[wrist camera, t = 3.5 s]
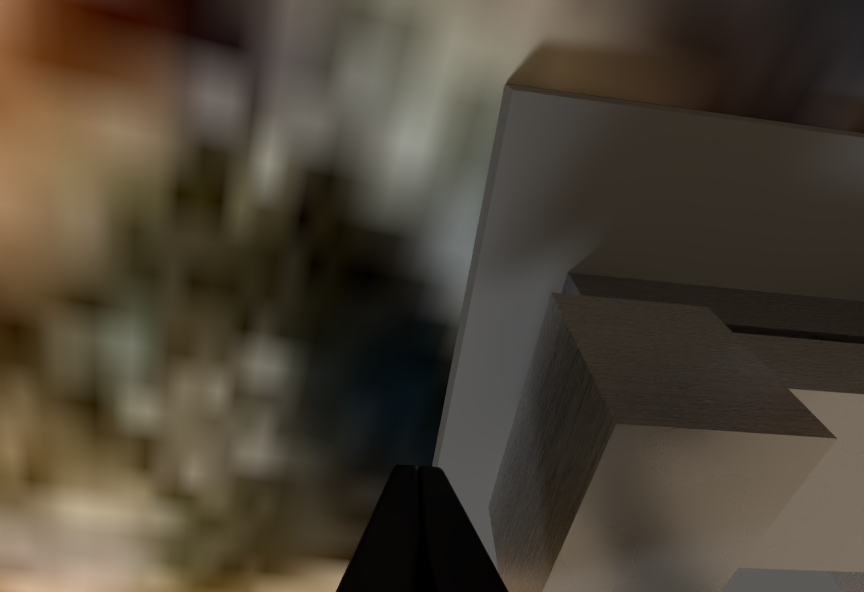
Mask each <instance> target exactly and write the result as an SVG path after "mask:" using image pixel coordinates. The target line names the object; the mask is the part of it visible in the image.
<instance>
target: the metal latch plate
mask: <svg viewBox="0 0 864 592" xmlns="http://www.w3.org/2000/svg"><path fill="white" fill-rule="evenodd" d="M488 508H489V514H490V521H491V527H492V533H493V539H494V546H495V552H496V558H497V565H498V571H499V575H500V577H501V579H502V580H503V582H504V584H505V586H506V588H507V590H508V592H720V591H721V590H722V588H723V587H724V586H725V584H726V583H727V582H728V580H729V579H730V578H731V577H732V575H733V574H734V573H735V571H736V570H737V569H738V568H756V569H783V570H811V571H828V573H829V574H830V575H831V577H832V578H833V580H834V581H835V582H836V584H837V585H838V586H839V588H840V589H841V590H842V592H864V344H857V343H846V342H834V341H823V340H812V339H801V338H790V337H778V336H767V335H756V334H745V333H733V332H732V331H731V330H730V329H729V328H728V327H727V326H726V325H725V324H724V323H723V322H722V321H721V320H720V319H719V318H718V317H717V316H716V315H715V314H714V313H713V312H712V311H711V310H710V309H709V308H708V307H702V306H691V305H680V304H670V303H659V302H648V301H638V300H627V299H617V298H606V297H595V296H585V295H574V294H564V293H553V292H551V295H550V298H549V301H548V305H547V308H546V312H545V315H544V318H543V322H542V325H541V329H540V332H539V335H538V339H537V342H536V346H535V349H534V353H533V356H532V359H531V363H530V366H529V370H528V373H527V376H526V380H525V383H524V387H523V390H522V394H521V397H520V400H519V404H518V407H517V411H516V414H515V417H514V421H513V424H512V428H511V431H510V434H509V438H508V441H507V445H506V448H505V452H504V455H503V458H502V462H501V465H500V469H499V472H498V475H497V479H496V482H495V486H494V489H493V492H492V496H491V499H490V503H489V506H488Z"/></svg>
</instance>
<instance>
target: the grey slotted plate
mask: <svg viewBox="0 0 864 592" xmlns="http://www.w3.org/2000/svg"><path fill="white" fill-rule="evenodd" d="M562 293H564V294H574V295H585V296H595V297H606V298H617V299H627V300H638V301H648V302H659V303H670V304H680V305H691V306H702V307H708V308H709V309H710V310H711V311H712V312H713V313H714V314H715V315H716V316H717V317H718V318H719V319H720V320H721V321H722V322H723V323H724V324H725V325H726V326H727V327H728V328H729V329H730V330H731V331H732V332H733V333H745V334H756V335H767V336H778V337H790V338H801V339H812V340H823V341H834V342H846V343H857V344H864V302H863V301H853V300H843V299H833V298H823V297H813V296H803V295H793V294H782V293H772V292H762V291H752V290H742V289H732V288H722V287H712V286H702V285H691V284H681V283H671V282H661V281H651V280H641V279H631V278H621V277H610V276H600V275H590V274H580V273H570V272H568V273H567V277H566V280H565V283H564V286H563V290H562Z"/></svg>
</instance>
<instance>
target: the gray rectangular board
mask: <svg viewBox="0 0 864 592" xmlns="http://www.w3.org/2000/svg"><path fill="white" fill-rule="evenodd" d="M568 272H570V273H580V274H590V275H600V276H610V277H621V278H631V279H641V280H651V281H661V282H671V283H681V284H691V285H702V286H712V287H722V288H732V289H742V290H752V291H762V292H772V293H782V294H793V295H803V296H813V297H823V298H833V299H843V300H853V301H863V302H864V133H860V132H852V131H845V130H838V129H831V128H823V127H816V126H809V125H802V124H794V123H787V122H780V121H772V120H765V119H758V118H751V117H743V116H736V115H729V114H722V113H714V112H707V111H700V110H693V109H685V108H678V107H671V106H664V105H656V104H649V103H642V102H635V101H627V100H620V99H613V98H605V97H598V96H591V95H584V94H576V93H569V92H562V91H555V90H547V89H540V88H533V87H526V86H518V85H511V84H505V88H504V93H503V98H502V103H501V109H500V114H499V119H498V124H497V130H496V135H495V140H494V145H493V151H492V156H491V161H490V166H489V171H488V177H487V182H486V187H485V192H484V198H483V203H482V208H481V213H480V219H479V224H478V229H477V234H476V240H475V245H474V250H473V255H472V260H471V266H470V271H469V276H468V281H467V287H466V292H465V297H464V302H463V308H462V313H461V318H460V323H459V329H458V334H457V339H456V344H455V350H454V355H453V360H452V365H451V370H450V376H449V381H448V386H447V391H446V397H445V402H444V407H443V412H442V418H441V423H440V428H439V433H438V439H437V444H436V449H435V454H434V460H433V465H432V467H440V468H441V469H442V470H443V471H444V473H445V474H446V476H447V478H448V480H449V482H450V484H451V486H452V487H453V489H454V491H455V493H456V495H457V497H458V499H459V500H460V502H461V504H462V506H463V508H464V510H465V512H466V513H467V515H468V517H469V519H470V521H471V523H472V525H473V526H474V528H475V530H476V532H477V534H478V536H479V538H480V539H481V541H482V543H483V545H484V547H485V549H486V551H487V553H488V554H489V556H490V558H491V560H492V562H493V564H494V566H495V567H496V569H497V571H498V565H497V558H496V552H495V546H494V539H493V533H492V527H491V521H490V514H489V508H488V506H489V503H490V499H491V496H492V492H493V489H494V486H495V482H496V479H497V475H498V472H499V469H500V465H501V462H502V458H503V455H504V452H505V448H506V445H507V441H508V438H509V434H510V431H511V428H512V424H513V421H514V417H515V414H516V411H517V407H518V404H519V400H520V397H521V394H522V390H523V387H524V383H525V380H526V376H527V373H528V370H529V366H530V363H531V359H532V356H533V353H534V349H535V346H536V342H537V339H538V335H539V332H540V329H541V325H542V322H543V318H544V315H545V312H546V308H547V305H548V301H549V298H550V295H551V292H553V293H562V290H563V286H564V283H565V280H566V277H567V273H568ZM498 573H499V571H498ZM720 592H842V590H841V589H840V588H839V586H838V585H837V584H836V582H835V581H834V580H833V578H832V577H831V575H830V574H829V573H828V571H811V570H783V569H756V568H738V569H737V570H736V571H735V573H734V574H733V575H732V577H731V578H730V579H729V580H728V582H727V583H726V584H725V586H724V587H723V588H722V590H721V591H720Z"/></svg>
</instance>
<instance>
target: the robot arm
mask: <svg viewBox="0 0 864 592" xmlns="http://www.w3.org/2000/svg"><path fill="white" fill-rule="evenodd" d="M336 592H508V590H507V588H506V586H505V584H504V582H503V580H502V579H501V577H500V575H499V573H498V571H497V569H496V567H495V566H494V564H493V562H492V560H491V558H490V556H489V554H488V553H487V551H486V549H485V547H484V545H483V543H482V541H481V539H480V538H479V536H478V534H477V532H476V530H475V528H474V526H473V525H472V523H471V521H470V519H469V517H468V515H467V513H466V512H465V510H464V508H463V506H462V504H461V502H460V500H459V499H458V497H457V495H456V493H455V491H454V489H453V487H452V486H451V484H450V482H449V480H448V478H447V476H446V474H445V473H444V471H443V470H442V469H441V468H440V467H432V466H421V467H419V468H417V467H416V466H414V465H396V466H395V467H394V468H393V470H392V472H391V474H390V476H389V478H388V480H387V482H386V485H385V487H384V489H383V491H382V493H381V495H380V498H379V500H378V502H377V504H376V506H375V508H374V511H373V513H372V515H371V517H370V519H369V521H368V523H367V526H366V528H365V530H364V532H363V534H362V536H361V539H360V541H359V543H358V545H357V547H356V549H355V552H354V554H353V556H352V558H351V560H350V562H349V564H348V567H347V569H346V571H345V573H344V575H343V577H342V580H341V582H340V584H339V586H338V588H337V590H336Z"/></svg>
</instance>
